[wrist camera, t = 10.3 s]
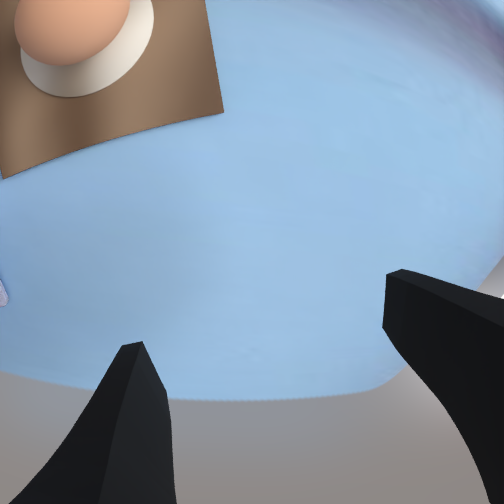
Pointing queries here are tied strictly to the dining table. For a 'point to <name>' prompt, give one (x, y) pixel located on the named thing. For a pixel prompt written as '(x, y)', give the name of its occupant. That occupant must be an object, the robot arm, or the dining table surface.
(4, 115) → the walnut pad
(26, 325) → the dining table surface
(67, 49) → the ball
